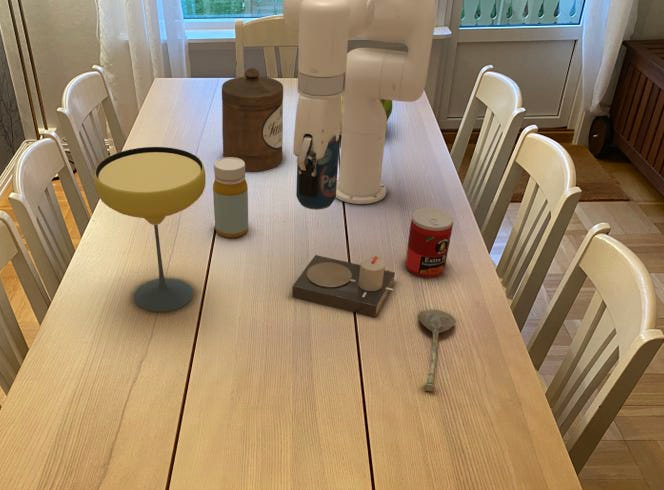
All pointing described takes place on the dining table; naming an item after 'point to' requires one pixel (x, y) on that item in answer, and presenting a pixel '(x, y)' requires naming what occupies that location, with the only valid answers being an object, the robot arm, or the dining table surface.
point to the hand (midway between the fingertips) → (316, 185)
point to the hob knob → (371, 274)
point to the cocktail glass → (153, 205)
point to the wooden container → (253, 120)
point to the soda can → (323, 179)
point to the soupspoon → (435, 335)
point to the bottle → (230, 197)
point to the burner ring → (329, 275)
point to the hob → (343, 290)
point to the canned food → (428, 241)
